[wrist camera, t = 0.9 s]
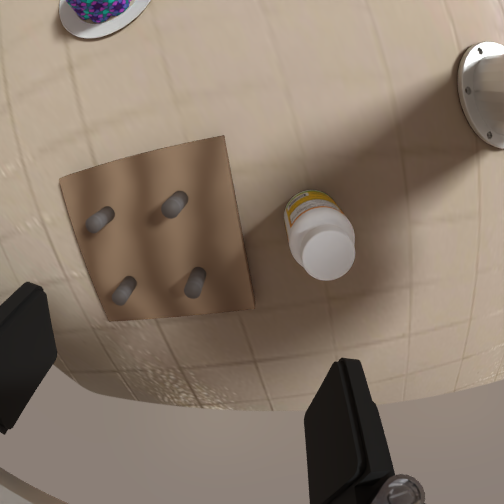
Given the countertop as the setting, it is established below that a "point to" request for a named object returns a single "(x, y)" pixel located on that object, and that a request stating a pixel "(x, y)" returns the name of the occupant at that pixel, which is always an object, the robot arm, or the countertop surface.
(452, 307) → the countertop surface
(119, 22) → the pudding
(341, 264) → the supplement bottle
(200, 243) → the peg cradle
